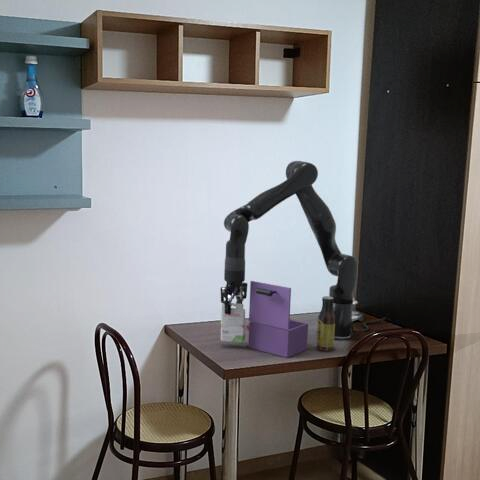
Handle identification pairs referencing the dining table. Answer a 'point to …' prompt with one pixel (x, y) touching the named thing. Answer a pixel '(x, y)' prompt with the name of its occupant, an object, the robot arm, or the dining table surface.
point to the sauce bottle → (326, 325)
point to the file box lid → (270, 304)
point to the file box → (279, 338)
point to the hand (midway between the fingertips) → (233, 312)
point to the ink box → (233, 324)
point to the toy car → (356, 313)
